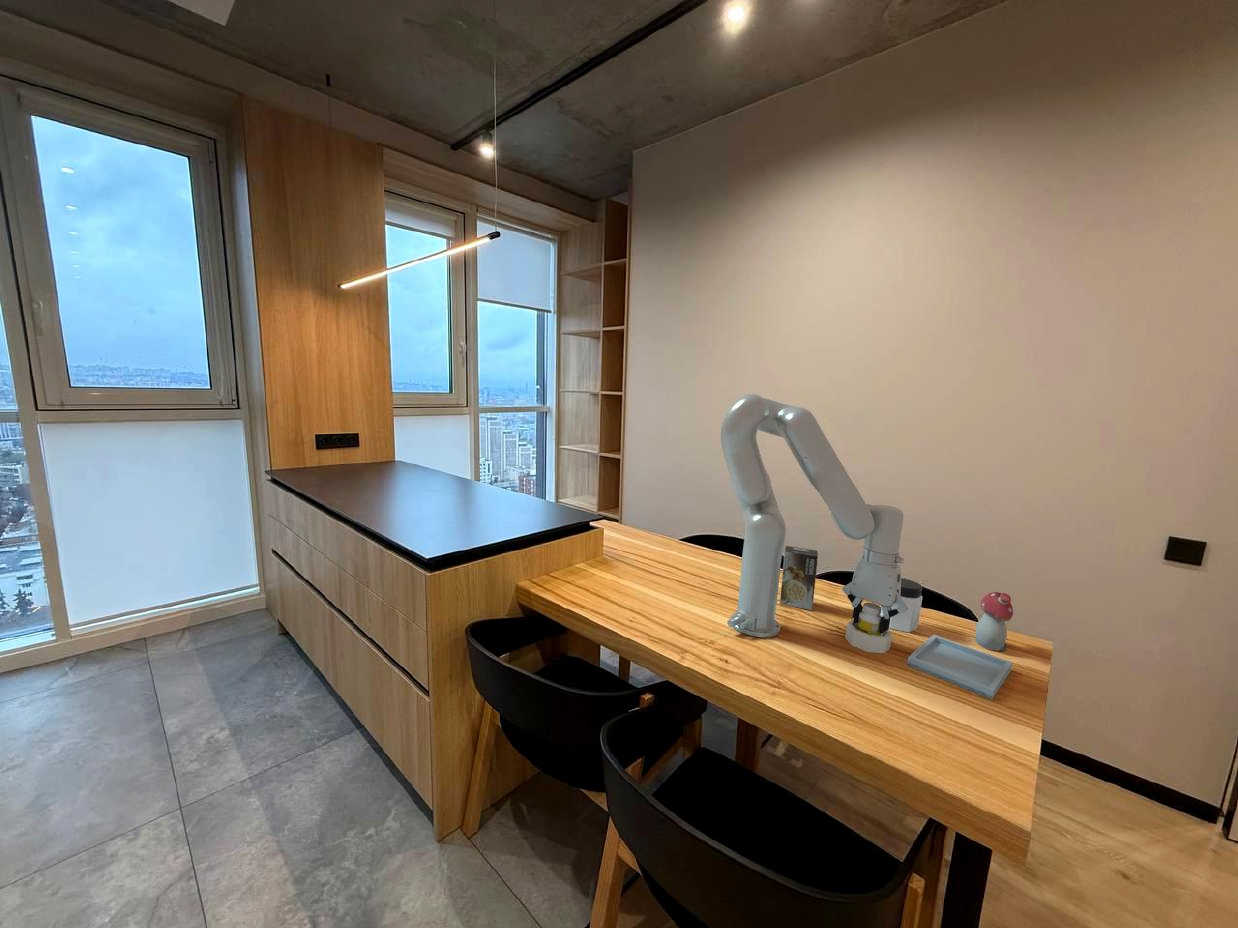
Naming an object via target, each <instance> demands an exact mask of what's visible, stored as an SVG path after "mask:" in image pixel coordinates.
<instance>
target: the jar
mask: <svg viewBox="0 0 1238 928" xmlns="http://www.w3.org/2000/svg"><path fill="white" fill-rule="evenodd" d="M922 592H923V586H922V585H921V584H920V583H918V582H916V581H914V580H911V579H907V578H903V577H901V593H900V596H901V598H902V599H903V601H904V602H905V604H906V605H907V607H908V610H906V611H905V612H902V613H899V614H897V615H895V616H893V617H891V618H890V625H889V629H890V628H891V629H892V630H896V631H900V632H904V633H911V632H913V631H916V630H918V627H919V620H920V614H921V609H922V603H923V602H922V601H923V596H922V594H923V593H922ZM895 608H898V605H897V603H894V605H893V606H892V610H893V609H895ZM880 615H881V616H882V617H883V611H882V608H881V614H880Z"/></svg>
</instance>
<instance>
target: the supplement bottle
mask: <svg viewBox="0 0 1238 928" xmlns="http://www.w3.org/2000/svg"><path fill="white" fill-rule="evenodd" d="M862 607H863V611H861V612H860V613H859V617H858V625H857V630H858V631H861V632H864V633H866V634H869V635H877V636H881V633H880V632H879V627H880V620H881V617H882V616H881V609H882V606H881V605H878V604H875V603H873V602H865V603H863V605H862Z"/></svg>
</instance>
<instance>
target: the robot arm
mask: <svg viewBox="0 0 1238 928" xmlns="http://www.w3.org/2000/svg"><path fill="white" fill-rule="evenodd" d="M758 431H760V432H763V433H767V434H770V435H774V436H777V437H780V438H783V439H784V441H785V442H786V444H787V446H788V447H789V450H790V451H791V453H792V455H793V456H794V459H795V460H796V461H797V463H798V465H799V467H800V469H801V471H802V472H803V475H804V476H805V477H806V479H807V480H808V481H809V484H810V485H811V486H812V487H813V488H814V489H815V490H816V491H817V493H819V495H820V496H821V498H822V500H823V501H824V503H825V504H826V506H827V507H828V510H829V511H830V517H831V520H832V522H833V524H834V525H835V526H836V527H837V528H838V529H839V531H840V532H841V533H842V534H843V535H844V537H847V538H849V539H851V540H856V541H857V540H858V541H859V540H863V549H862V554H861V556H859V558H858V560H857V563H856V565H855V569H854V571H853V576H852V581H850V582H849V583H847V584H846V585H845V586H843V587H842V592H843V593H844V594H845V595H846V596H847V599H848V601H850V603H851V606H852V609H853V610H852V615H851V616H852V618H853V619H854V620H853V619H852V620H853V623H855V624H857V623H858V617H859V613H860V612H861V611H863V605H862V603H863V601H868V602H869V603H874V604H877V605H879V606H880V607H881V609H882V611H883V617H881V620H880V627H879V632H880V633H881V634H882V633H884V632H885V631H886V630H890V628H889V625H890V618H891V617H893V616H895V615H897V614H899V613H902V612H905V611H906V610H908V607H907V605H906V604H905V602H904V601H903V599H902V598H901V596H900V593H901V578H902V568H901V565H899V564H904V562H905V558H904V557H901V556H900V552H899V550H900V545H901V544H900V543H901V539H902V537H901V536H902V530H903V524H904V517H905V515H904V512H903V510H902V509H900V508H899V507H895V506H892V505H885V504H868V503H866V502H865V499H864V497H863V496H862V495H861V493H860V491H859V489H858V488H857V486H856V484H855V483H854V481H853V480H852V479H851V477H850V476H849V474H848V472H847V470H846V469H845V466H844V465H843V463H842V462H841V460H840V459H839V457H838V455H837V453H836V452H835V450H834V448H833V447H832V445H831V443H830V441H829V440H828V438H827V437H826V434H825V433H824V430H823V429H822V428H821V425H820V424H819V422H818V420H817V419H816V417H815V416H814V414H813V413H812V411H810V410H809V409H806V408H803V407H799V406H794V405H789V404H785V403H781V402H779V401H776V400H772V399H769V398H765V397H762V396H761V395H758V394H754V393H749V394H745V395H742V396H741V397H739V398H738V399H737V400H736V402H735V403H734V404H733V405H732V406H731V408H729V410H728V412H727V413H726V414H725V416H724V418H723V421H722V423H721V427H720V443H721V449H722V452H723V455H724V458H725V463H726V466H727V470H728V472H729V476H730V479H731V482H732V483H731V484H732V489H733V490H732V491H733V492H734V494H735V496H736V498H737V501H738V505H739V508H740V510H741V513H742V517H743V520H744V538H743V539H744V540H743V548H742V558H741V569H740V576H739V577H740V578H739V579H740V580H739V588H738V600H737V608H736V609H737V610H735V612H734V613H732V614H731V615H730V619H728V620H727V622H726V623H727V625H728V627H729V628H733V629H734V630H736V631H737V632H739V633H741V634H743V635H747V636H750V637H755V638H772V637H775V636H777V635H779V634H780V632H781V625H780V623H779V621H777V620H776V613H777V609H776V608H777V605H778V604H777V602H778V594H779V585H780V584H779V583H780V575H781V565H782V558H783V551H784V547H785V542H786V533H787V530H786V528H787V527H786V523H785V519H784V517H783V515H782V512H781V511H780V508H779V506H778V502H777V500H776V497H775V496H776V495H775V494H774V489H773V487H772V483H771V478H770V475H769V473H768V471H767V469H766V467H765V465H764V462H763V458H762V456H761V451H760V449H759V445H758V442H757V441H758V440H757V433H758ZM894 603H897V605H898V608H895V609H893V610H892V606H893V605H894Z"/></svg>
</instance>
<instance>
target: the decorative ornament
mask: <svg viewBox="0 0 1238 928" xmlns="http://www.w3.org/2000/svg"><path fill="white" fill-rule="evenodd" d="M1011 599H1012V597H1011V596H1010V595H1009V594H1007V593H1005V592H999V591H991V592H989V593H988V594H985V596H983V598H982V599H981V600H980V609H981V610H982V611H983V612H984V614H983V615H982V616H981V618H979V620H978V621H977V624H976V627H975V641H976V642H977V644H979V645H980V646H982V647H983V648H985V649H987V650H989V651H995V652H1004V651H1006V650H1007V645H1006V644H1007V643H1006V641H1007V637H1008V636H1007V635H1008V632H1007V625H1006V622H1009V621H1010V620H1011V619H1012V618H1013V615H1014V608H1013V605H1012V602H1011V601H1012V600H1011Z"/></svg>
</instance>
